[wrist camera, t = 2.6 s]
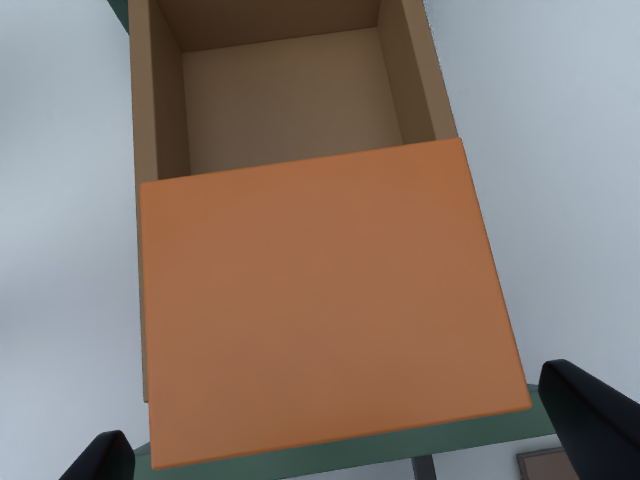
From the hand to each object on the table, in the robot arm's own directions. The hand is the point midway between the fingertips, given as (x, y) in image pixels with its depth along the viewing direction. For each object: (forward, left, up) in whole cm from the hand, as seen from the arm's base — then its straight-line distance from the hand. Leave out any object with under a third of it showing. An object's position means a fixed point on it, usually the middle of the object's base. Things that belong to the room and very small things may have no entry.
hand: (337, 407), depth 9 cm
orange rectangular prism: (+2, 0, -7) cm, 8 cm away
